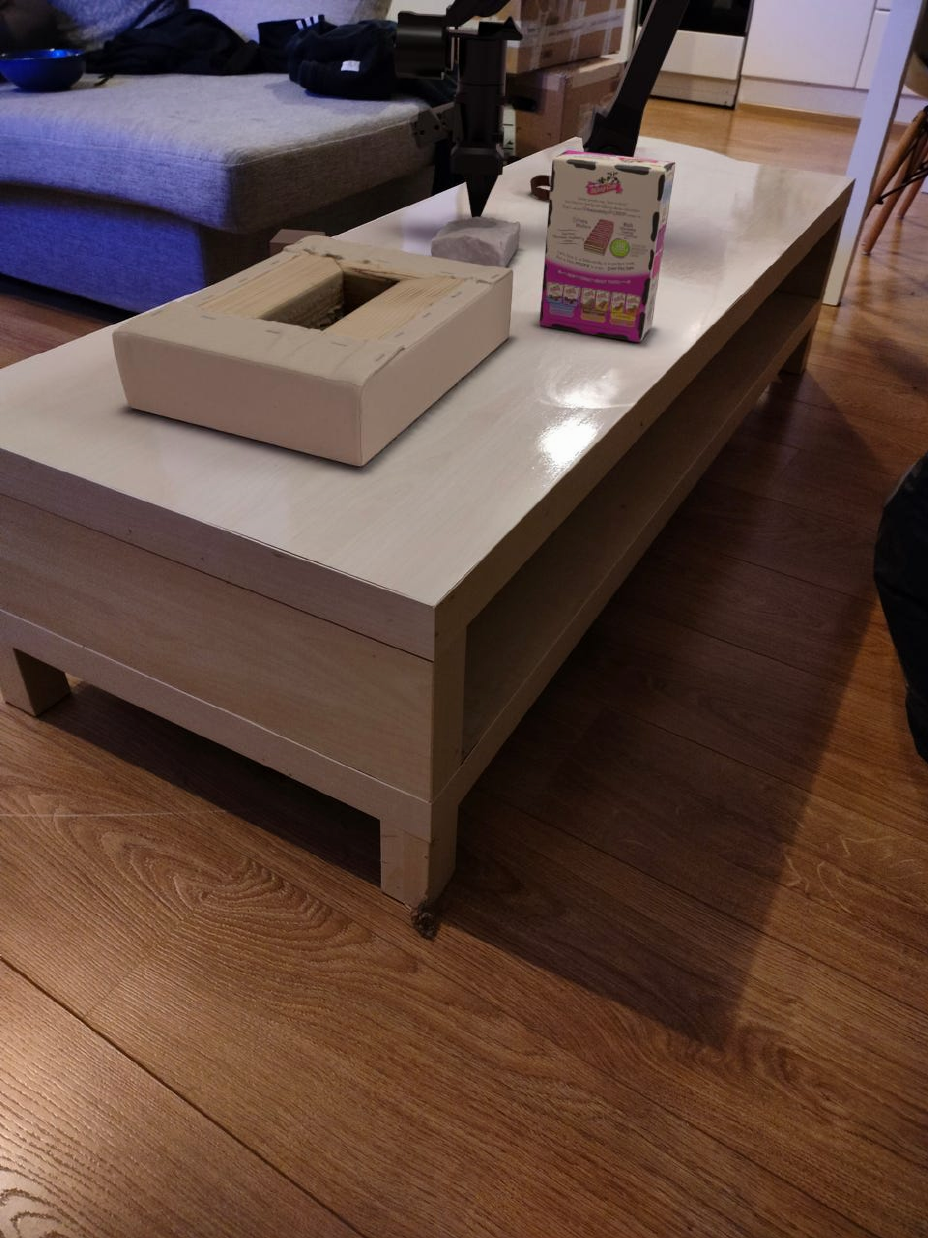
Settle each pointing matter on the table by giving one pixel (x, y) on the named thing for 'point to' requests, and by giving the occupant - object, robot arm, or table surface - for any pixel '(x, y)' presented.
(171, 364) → the box
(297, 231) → the walnut cube
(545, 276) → the candy bar box
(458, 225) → the stone block
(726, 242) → the table surface
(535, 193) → the watch
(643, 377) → the table surface
